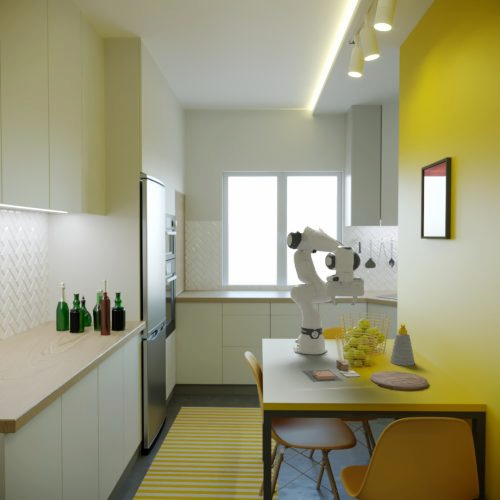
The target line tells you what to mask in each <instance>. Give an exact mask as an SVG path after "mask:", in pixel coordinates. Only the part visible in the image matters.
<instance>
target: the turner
mask: <svg viewBox="0 0 500 500" xmlns="http://www.w3.org/2000/svg"><path fill="white" fill-rule="evenodd" d="M336 368H337V369H339V373H340V374H341V375H343V376H344V377H345V378H359V377H360V378H361V374H359V373H357V372H356V371H354V370H352V369H351V370H349V363H348V362H345V360H342V359H337V360H336Z"/></svg>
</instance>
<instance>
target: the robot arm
mask: <svg viewBox="0 0 500 500" xmlns="http://www.w3.org/2000/svg"><path fill="white" fill-rule="evenodd" d="M286 244H287V246H288V248H289V249H292V250H296V251H294V254H293V263H294V269H295V271H296V276H297V278H298V280H299V281H300V282H301V283H300V284H295V285H293V286H292V287H291V289H290V298H291V300H292V301H293V302H294V303H295V304H296V305H297V306H298V308H299V309H300V312H301V323H302V324H301V325H302V326H301V327H300V328H301V329H300V335H298V337H297V338H296V339H295V341H294V343H295V344H294V345H293V350H294V352H295V353H296V354H304V355H305V354H306V355H322V354H324V353H327V352H328V349H327V348H326V342H325V341H326V340H325V337H324V335H323V331H324V330H323V325H322V323H323V322H322V319H323V315H322V313H321V312H320V310H317V309H316V308H314V304H318V303H319V304H324V303H328V302H331V301H332V303H333V304H332V305H333V306H338V301H336V297H352V298H353V299H352V300H351V301H350V305H351V306H355V305H356V302H357V300H358V297H363V296H364V295H365V288H364V286H365V280H364V278H361V277H354V275H355V274H354V272H355V271H357V269H358V268H359V267H360V265H361V261H362V260H361V257H360V256H359V254H358V253H357V251H354V249H353V247H352V246H349V245H344V244H343V243H342V242H340V241H339V240H337V239H336V238H333V237H332V236H330V235H328V234H327V233H326V231H324V230H323V229H322V228H321V227H320V226H318V225H315V224H309V225H307V226H306V227H305V228H304V230H303V231H299V230H297V231H291V232H289V233H288V235H287V237H286ZM317 252H323V253H326V254H327V255H326V256H325V258H324V259H325V261H324V263H325V267H327V269H328V270H330V271H335V274H332V275H328V276H326V279H325V280H326V282H325V281H324V280H323V279H322V278H321V277H320V276H319V275H318V273H317V271H316V270H317V269H316V267H315V265H314V261H313V259H312V254H316V253H317Z"/></svg>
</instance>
